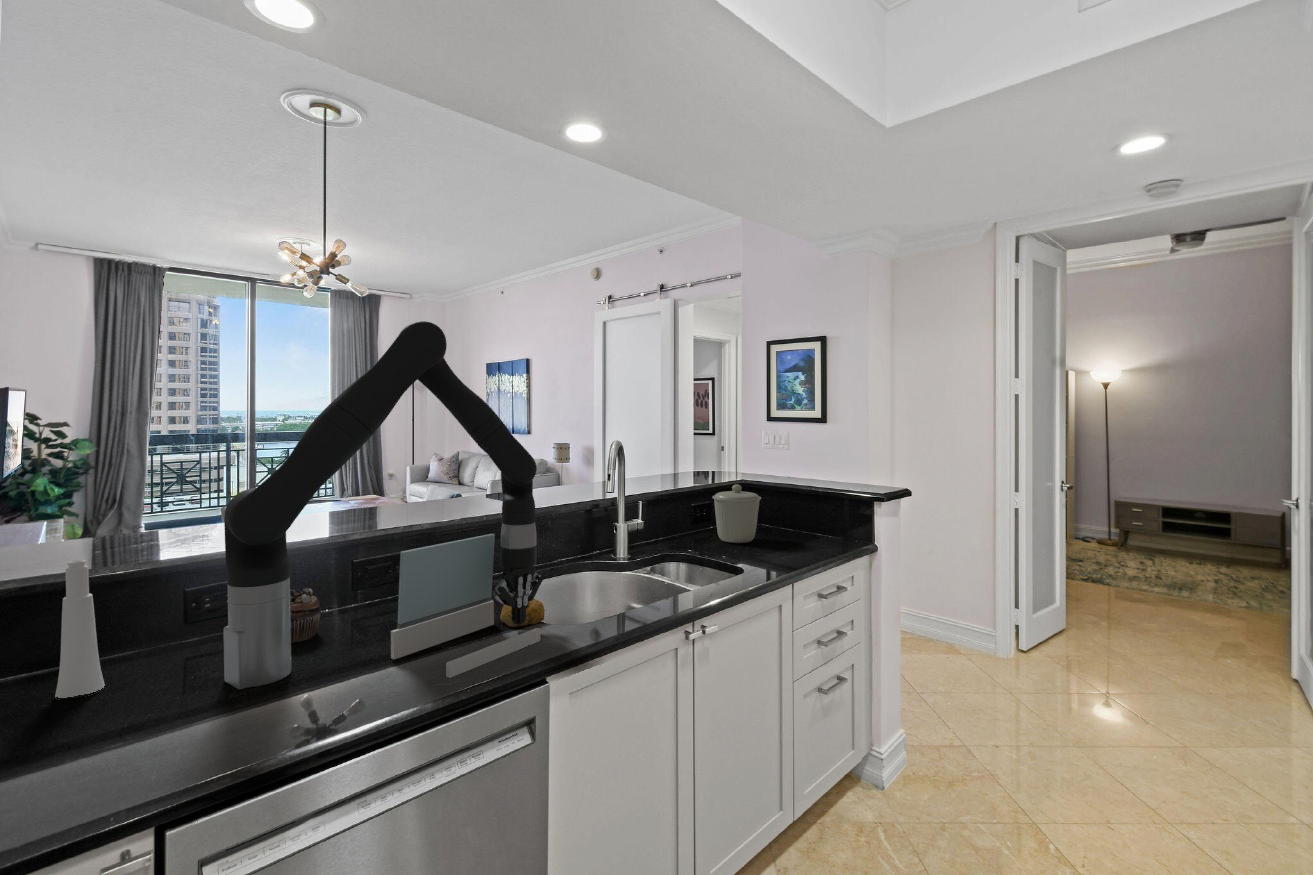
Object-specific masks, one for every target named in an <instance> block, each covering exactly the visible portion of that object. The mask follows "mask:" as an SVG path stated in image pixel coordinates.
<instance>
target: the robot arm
mask: <svg viewBox="0 0 1313 875" xmlns="http://www.w3.org/2000/svg"><path fill="white" fill-rule="evenodd" d="M446 352H447V337H446V334H445V333H444V331H443V330H442V328H441V327H440V326H438V324H436V323H434V322H430V321H424V320H423V321H422V320H420V321H415V322H412V323H409V324H408V325H406V326H405V327H403V329H401V330H400V332H399V334H398V336H397V337H396V338H395V340H394V341H393V342H392V343H391V345H390V346H389V347H388V348H387V350H386V351H385V352H384V354H382V355H381V357H380V358H379V359H378V361H377V362H376V363H374V365H373V366H372V367H370V368H369V369H368V370H367V371H366V372H365V373H363V374H362V375H361V376H359V377H358V378H357V379H356V380H355V381H354V382H352V383H351V384H350V385H349V386H348V387H347V388H345V390H343V391H342V392H340V394H339V395H338V396H337V397H335V399H333V400H332V401H331V402H330V403H329V404H328V405H327V406H326V407H325V408H324V409H323V411H321V412H320V413H319V415H318V416H317V417H315V418H314V419H313V421H312V422H311V424H310V425H309V426H308V427H307V429H306V430H305V431H304V433H303V434H302V435H301V437H300V439H299V440H298V441H297V443H296V445H295V446H294V448H293V449H292V451H291V453H290V454H289V456H288V457H287V458H286V459H285V461H284V462H283V463H282V464H281V465H280V466H279V467H278V468H277V469H276V470H275V471H274V472H273V473H272V474H271V475H270V476H268V478H266V479H265V480H264V481H263V482H262V483H260V484H258V486H257V487H253V488H252V487H251V488H249V489H245V490H242V491H240V492H238V493H237V494H235V495H234V496H233V497H231V499H230V500H229V502H228V503H227V505H226V508H225V511H224V519H223V520H224V521H223V522H224V523H223V524H224V526H223V527H224V548H225V551H224V552H225V567H226V579H227V580H226V581H227V622H228V623H227V626H224V627H223V665H224V666H223V668H224V669H223V671H224V673H223V674H224V676H223V677H224V682H226V683H228V684H229V685H231V686H232V687H234V688H235V689H237V690H243V689H246V688H252V687H260V686H265V685H269V684H272V683H275V682H278V681H281V680H283V679H284V678H286V677H287V676H289V675H290V674H291V672H292V660H293V659H292V643H291V621H290V589H291V571H290V568H291V567H290V566H291V565H290V560H289V555H288V548H287V532H288V530H289V528H290V527H291V526H292V525H293V524H294V522H295V521H296V519H297V518H298V517H299V516H300V514H301V512H302V511H303V510H304V508H306V506H307V505H308V504H309V502H310V501H311V500H312V498H313V497H314V496H315V494H316V493H317V492H318V491H319V490H320V488H322V486H324V484H325V483H326V482H327V481H328V480H330V479H331V478H332V477H333V476H334V475H335V474H337V472H338V471H339V470H340V469H341V468H342V467H343V466H344V465H345V464H347V463H348V461H349V460H351V458H352V457H353V456H354V455H355V454H357V452H358V451H359V450H360V449H361V448H362V447H363V446H364V445H365V443H367V442H368V441H369V440H370V439H371V438H372V436H374V434H375V433H376V431H378V429H379V428H380V427H381V426H382V424H383V423H384V421H386V419H387V418H388V416H389V415H390V414H391V413H392V411H393V409H394V408H395V406H396V405H397V404H398V402H399V400H400V399H401V397H402V396H403V395H404V394H405V392H406V391H407V390H408V389H409V388H410V387H411V386H412V385H413V384H414V383H415V382H416V381H419V382H420V384H422V385H423V386H424V387H425V388H427V389H428V391H430V393H432V394H433V395H434V396H435V397H436V398H437V400H439V401H440V402H441V404H442V405H444V407H445V408H446V409H447V410H448V411H449V413H450V414H451V415H452V416H453V417H454V419H456V420H457V422H458V424H460V425H461V427H462V428H463V429H464V431H465V432H466V433H467V434H468V435H469V436H470V437H471V439H472V440H473V442H475V444H477V445H478V447H479V448H480V449H481V450H482V451H483V452H484V453H486V454H487V455H488V456H489V458H490V460H491V461H492V462H493V463H494V465H495V466H496V467H497V469H498V470H499V471H500V479H501V480H500V481H501V482H500V483H501V492H502V504H501V530H500V565H501V567H502V574H501V575H500V576H501V577H500V578H501V580H500V581H499V582H498V584H494V585H492V592H494V594H496V596H497V597H498V598H499V600H500V601H501V602H502V604H503V606H504V605H507V606H511V608H512V621H513V623H514V624H518V625H519V624H522V623H524V622H525V619H526V605H527V604H528V602H529V601H532V600H533V599H535V597H536V594H537V592H538V591H539V588H540V587H541V585H542V583H543V581H544V576H543V575H541V574H538V573H537V572H536V567H535V566H536V564H537V528H536V502H535V498H534V495H533V494H534V493H533V491H534V490H533V489H534V488H533V486H534V485H533V482H534V481H533V480H534V478H535V476H536V475H537V463H536V460H535V459H534V458H533V456H532V455H531V454H530V452H529V451H528V450H527V448H525V447H524V446H523V445H522V444H521V443H520V441H518V440H517V438H516V437H515V436H513V434H512V433H511V432H510V430H509V428H508V427H507V426H506V424H505V423H504V421H503V420H502V419H501V418H500V416H498V415H497V413H496V412H495V411H494V410H493V408H491V406H490V405H489V404H488V403H487V402H486V401H485V400H483V398H481V396H479V395H478V394H477V393H476V392H474V391H473V390H472V389H470V388H469V387H468V386H467V385H466V384H465V383H464V382H463V381H462V380H461V379H460V378H459V377H458V376H457V375H456V373H455V372H454V371H453V370H452V368H451V367H450V366H449V364H448V362H447V361H446V359H445V355H446ZM515 598H516V600H515Z"/></svg>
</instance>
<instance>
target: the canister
mask: <svg viewBox="0 0 1313 875" xmlns="http://www.w3.org/2000/svg"><path fill="white" fill-rule="evenodd" d="M731 489H732V490H730V491H729V490H728V491H727V490H726V491H719V492H717V493H715V494H714V495H712V499H713V500H714V513H715V522H716V530H717V535H718V538H719V539H720V540H721V541H722V542H725V543H730V544H745V543H746V544H747V543H750V542H752V541H753V540H754V538H755V537H756V532H757V525H758V524H757V523H758V516H759V515H758V514H759V509H760V508H759V507H760V501H761V499H762V497H761V496H759V494H757V493H754V492H751V491H750V492H749V491H742V489H743V488H742V486H741V485H740V484H734V485H732V486H731Z"/></svg>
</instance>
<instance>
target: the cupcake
mask: <svg viewBox="0 0 1313 875" xmlns="http://www.w3.org/2000/svg"><path fill="white" fill-rule="evenodd" d="M313 592H314V591H313V589H312V588H309V587H308V586H307V588H306V587H303V588H300V589H299V590H298V591H296V590H295V589H294V588H290V621H291V644H293V643H300V642H304V641H307V640H310V639H312V638H314V637H315V636H316V635H317V632H318V629H319V622H320V618H321V614H322V608H321V606H320V603H321V602H320V600H319V599H318V597H317V596H314V595H313Z"/></svg>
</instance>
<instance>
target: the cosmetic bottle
mask: <svg viewBox="0 0 1313 875" xmlns="http://www.w3.org/2000/svg"><path fill="white" fill-rule="evenodd" d="M86 563H87V560H86V559H75V560H70V561H68V562H67V566H68V567H66V568H65V596H64V597H63V598H62V609H61V629H60V630H61V632H60V635H61V636H60V656H59V657H60V659H59V660H60V661H59V671H58V679H57V685H56V690H55V695H54V697H55V698H56V697H58V698H67V697H74V696H78V695H84V694H90V693H93V692H96V691H98V690H100V691H102V690H103V689H104V688H105V687H104V686H106V684H105V681H104V677H103V673H102V669H101V662H100V657H99V656H100V655H99V649H98V639H97V638H98V637H97V627H96V617H95V616H96V614H95V605H94V604H95V603H94V598H93V596H94V595H93V593H90V582H89V581H90V579H89V577H90V575H89V572H90V571H89V566H88V565H86ZM102 688H103V689H102ZM101 689H102V690H101ZM98 692H99V691H98ZM96 693H97V692H96Z"/></svg>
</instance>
